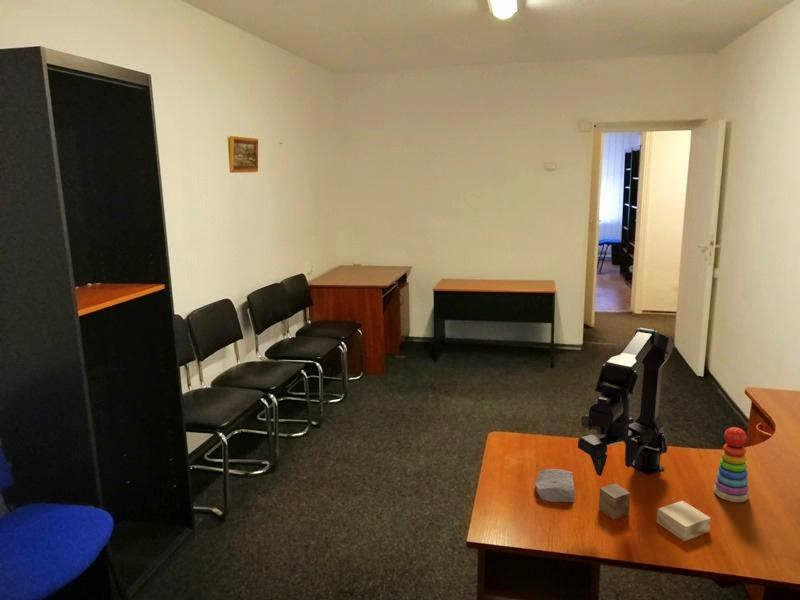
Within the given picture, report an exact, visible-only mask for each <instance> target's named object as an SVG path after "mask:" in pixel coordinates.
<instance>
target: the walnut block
mask: <svg viewBox="0 0 800 600" xmlns="http://www.w3.org/2000/svg"><path fill="white" fill-rule="evenodd" d="M598 496H599V497H598V499H599V500H598V510H599V511H600V512H602V513H603V514H605V515H606V516H607V517H609V518H610V519H611V520H613V521H614V520H616V519H621V518H623V517H626V516H629V515H630V504H631V503H630V502H631V501H630V500H631V492H629V491H628V490H627V489H625V488H624V487H623V486H621V485H619V484H618V483H617V482H616V483H615V482H614V483H612V484H609V485H606V486H602V487H600V488H599V495H598Z"/></svg>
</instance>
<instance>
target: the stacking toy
mask: <svg viewBox="0 0 800 600" xmlns="http://www.w3.org/2000/svg"><path fill="white" fill-rule="evenodd" d="M746 433H747V432H745V431H744V430H743V429H742V428H740V427H738V426H737V427H736V426H733V427H729V428H727V429H726V430H725V432H724V433H723V436H724V437H723V438H724V441H725V444H724V445H723V449H722V450H723V451H722V452H721V458H720V459H719V466H718V471H717V473H716V479H715V480H714V483H715V484H714V486H713V491H714V494H715V495H716V496H717V497H719V498H721V499H723V500H725V501H728V502H731V503H743V502H746V501H747V500H748V499H749V496H750V495H749V494H750V493H749V478H748V474H749V473H748V470H747V467H748V466H747V463H746V461H747V455H746V453H747V449H746V447H745V445H746V443H747V441H748V435H747V434H746Z"/></svg>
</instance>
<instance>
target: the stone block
mask: <svg viewBox="0 0 800 600" xmlns="http://www.w3.org/2000/svg"><path fill="white" fill-rule="evenodd" d="M573 479H574V478H573V472H572V471H571V470H570V471H567V470H564V469H558V468H548V469H543V470H540V471H538V473H537V477H536V479H535V484H534V485H535V490H536V493H537V495H538V497H539V498H540V499H541V500H542V501H546V502H550V503H551V502H556V503H557V502H561V503H574V502H575V484H574V480H573Z"/></svg>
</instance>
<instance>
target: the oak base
mask: <svg viewBox="0 0 800 600" xmlns="http://www.w3.org/2000/svg"><path fill="white" fill-rule="evenodd" d="M656 516H657V517H656V523H657V524H659V525H660V526H662V527H663V528H665V529H666V530H667V531H668V532H670V533H672V534H673V535H675V536H676V537H677V538H679V539H680V540H682V541H683V542H685V541H688V540H692V539H694V538H696V537H699V536H702V535H704V534H707V533H710V531H711V530H710V529H711V521H712V519H711V517H710V516H709V515H707V514H705V513H704V512H702V511H700V510H699V509H697V508H696V507H693V506H692V505H691V504H689V503H687V502H686V501H684V500H680V501H677V502H675V503H672V504H671V503H670V504H667V505H665V506H662V507H660V508H659V507H658V508H657V515H656Z"/></svg>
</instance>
